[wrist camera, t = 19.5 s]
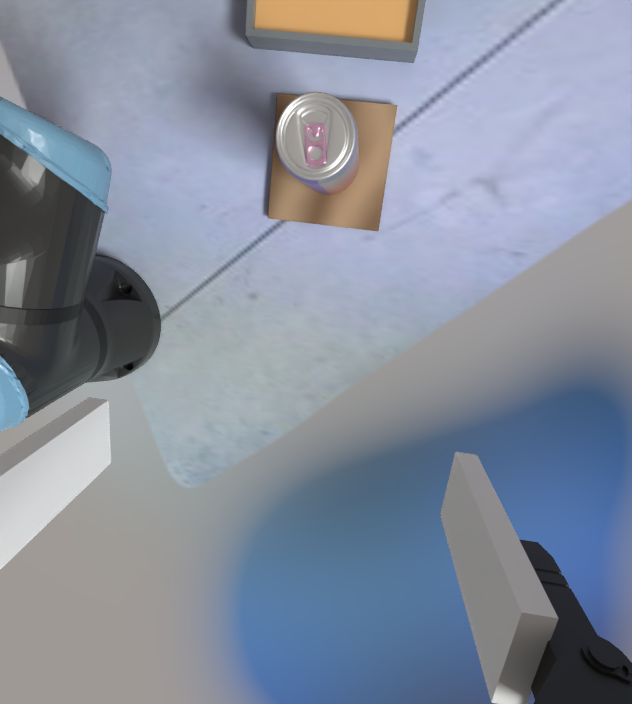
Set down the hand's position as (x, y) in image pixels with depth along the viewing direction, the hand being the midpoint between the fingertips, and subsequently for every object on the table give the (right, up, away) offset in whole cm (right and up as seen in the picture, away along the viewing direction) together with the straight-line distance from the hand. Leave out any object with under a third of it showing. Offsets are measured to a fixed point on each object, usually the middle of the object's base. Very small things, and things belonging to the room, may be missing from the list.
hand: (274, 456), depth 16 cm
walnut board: (+3, +24, +29) cm, 37 cm away
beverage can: (+3, +23, +28) cm, 37 cm away
